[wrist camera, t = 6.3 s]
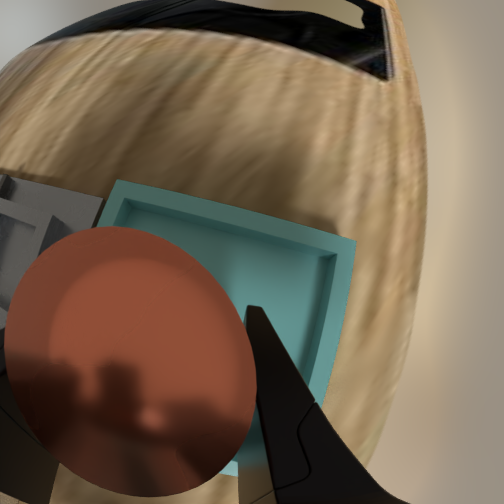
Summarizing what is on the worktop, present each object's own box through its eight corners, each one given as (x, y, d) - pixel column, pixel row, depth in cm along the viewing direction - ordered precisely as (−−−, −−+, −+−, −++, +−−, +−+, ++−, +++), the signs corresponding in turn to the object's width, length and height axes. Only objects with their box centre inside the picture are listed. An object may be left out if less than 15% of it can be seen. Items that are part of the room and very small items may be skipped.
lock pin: (201, 395, 12) (147, 530, 2) (138, 342, 12) (-20, 356, 3) (252, 334, 13) (320, 357, 3) (188, 281, 13) (102, 176, 4)
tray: (287, 467, 13) (294, 482, 11) (70, 401, 12) (53, 407, 11) (342, 250, 16) (356, 241, 14) (127, 193, 16) (117, 179, 14)
